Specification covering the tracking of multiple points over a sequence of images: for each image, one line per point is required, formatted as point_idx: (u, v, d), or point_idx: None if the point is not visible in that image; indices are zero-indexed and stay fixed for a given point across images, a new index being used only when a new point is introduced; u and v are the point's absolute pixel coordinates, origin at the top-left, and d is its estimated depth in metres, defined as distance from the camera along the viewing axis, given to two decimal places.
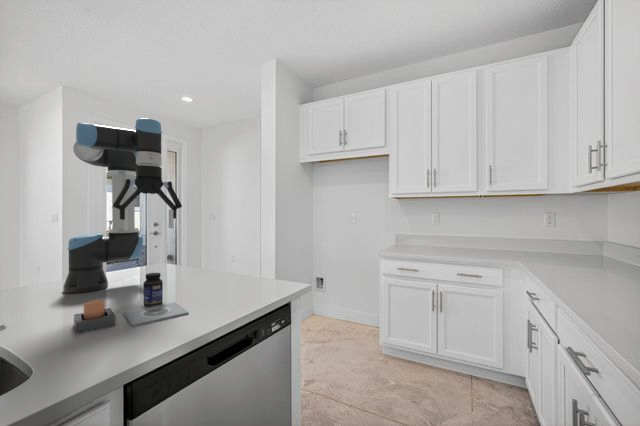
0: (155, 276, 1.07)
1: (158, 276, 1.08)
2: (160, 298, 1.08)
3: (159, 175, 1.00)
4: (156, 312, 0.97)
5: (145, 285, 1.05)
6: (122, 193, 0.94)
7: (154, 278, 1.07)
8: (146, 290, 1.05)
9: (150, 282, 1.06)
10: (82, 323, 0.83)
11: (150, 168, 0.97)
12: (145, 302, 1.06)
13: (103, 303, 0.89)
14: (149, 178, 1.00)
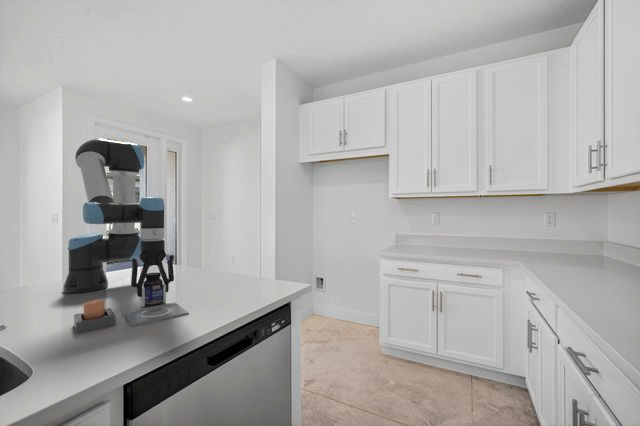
0: (155, 276, 1.07)
1: (158, 276, 1.08)
2: (160, 298, 1.08)
3: (162, 248, 1.08)
4: (156, 312, 0.97)
5: (145, 285, 1.06)
6: (134, 273, 1.03)
7: (154, 278, 1.07)
8: (146, 289, 1.05)
9: (150, 281, 1.06)
10: (82, 323, 0.83)
11: (154, 243, 1.05)
12: (145, 302, 1.06)
13: (103, 303, 0.89)
14: (153, 251, 1.07)
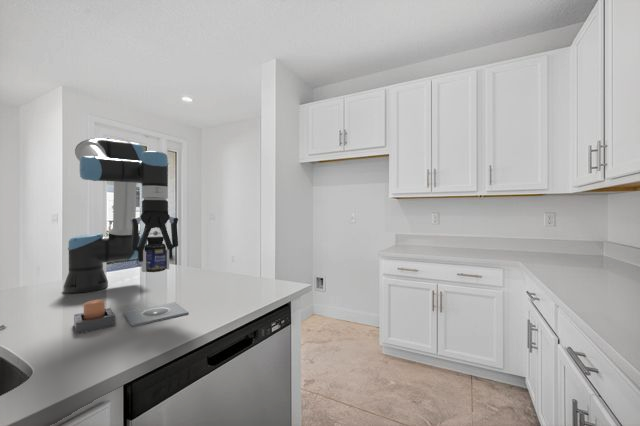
0: (158, 239, 0.96)
1: (161, 239, 0.97)
2: (163, 264, 0.97)
3: (166, 209, 0.97)
4: (156, 312, 0.97)
5: (147, 248, 0.95)
6: (135, 234, 0.93)
7: (156, 241, 0.96)
8: (148, 253, 0.95)
9: (153, 245, 0.95)
10: (82, 323, 0.83)
11: (156, 202, 0.94)
12: (147, 267, 0.95)
13: (103, 303, 0.89)
14: (155, 212, 0.97)
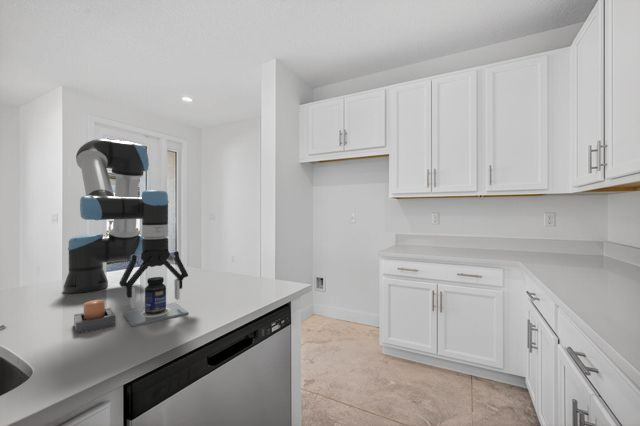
0: (158, 281, 0.97)
1: (161, 281, 0.98)
2: (163, 305, 0.98)
3: (166, 247, 0.97)
4: None
5: (147, 291, 0.95)
6: (128, 271, 0.92)
7: (157, 283, 0.97)
8: (148, 296, 0.95)
9: (153, 287, 0.96)
10: (82, 323, 0.83)
11: (156, 242, 0.95)
12: (147, 310, 0.96)
13: (103, 303, 0.89)
14: (155, 251, 0.97)
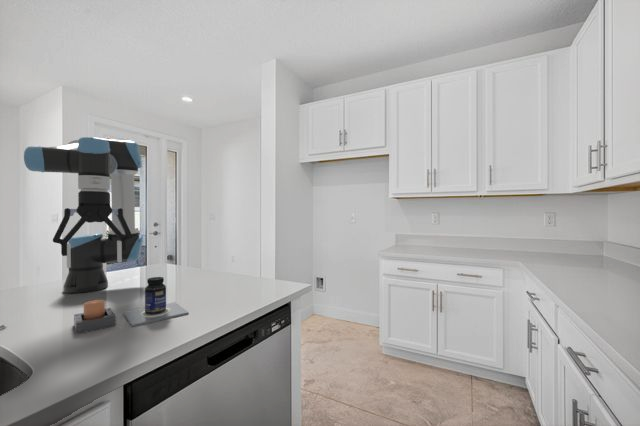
0: (158, 281, 0.97)
1: (161, 281, 0.98)
2: (163, 305, 0.98)
3: (106, 201, 0.88)
4: None
5: (147, 291, 0.95)
6: (62, 225, 0.83)
7: (157, 283, 0.97)
8: (148, 296, 0.95)
9: (153, 287, 0.96)
10: (82, 323, 0.83)
11: (94, 194, 0.85)
12: (147, 310, 0.96)
13: (103, 303, 0.89)
14: (94, 205, 0.88)
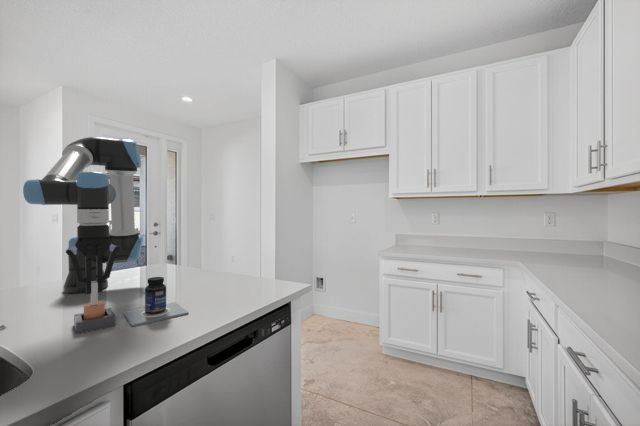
0: (158, 281, 0.97)
1: (161, 281, 0.98)
2: (163, 305, 0.98)
3: (105, 235, 0.88)
4: None
5: (147, 291, 0.95)
6: (75, 266, 0.85)
7: (157, 283, 0.96)
8: (148, 296, 0.95)
9: (153, 287, 0.96)
10: (82, 323, 0.83)
11: (92, 229, 0.85)
12: (147, 310, 0.96)
13: (103, 305, 0.89)
14: (93, 239, 0.87)
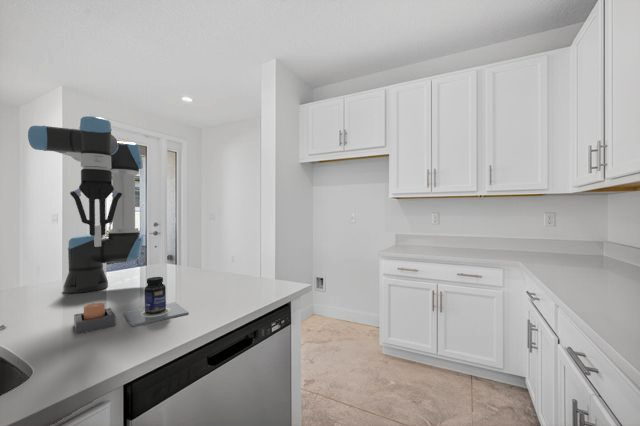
0: (157, 281, 0.97)
1: (160, 281, 0.98)
2: (163, 305, 0.98)
3: (108, 179, 0.91)
4: None
5: (146, 291, 0.95)
6: (79, 207, 0.88)
7: (156, 283, 0.96)
8: (147, 296, 0.95)
9: (152, 287, 0.96)
10: (82, 323, 0.83)
11: (96, 172, 0.88)
12: (147, 310, 0.96)
13: (103, 306, 0.89)
14: (96, 183, 0.90)
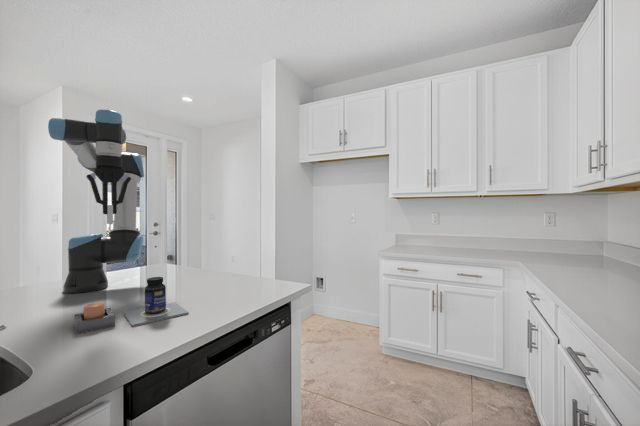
0: (157, 281, 0.96)
1: (160, 281, 0.98)
2: (163, 305, 0.98)
3: (119, 165, 1.04)
4: None
5: (146, 291, 0.95)
6: (94, 188, 1.00)
7: (156, 283, 0.96)
8: (147, 296, 0.95)
9: (152, 287, 0.96)
10: (82, 323, 0.83)
11: (109, 157, 1.01)
12: (146, 310, 0.96)
13: (103, 306, 0.89)
14: (109, 167, 1.03)
